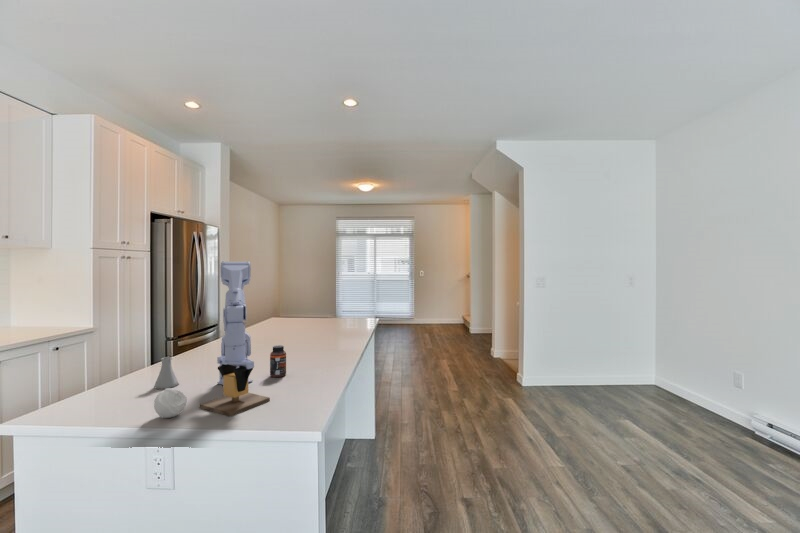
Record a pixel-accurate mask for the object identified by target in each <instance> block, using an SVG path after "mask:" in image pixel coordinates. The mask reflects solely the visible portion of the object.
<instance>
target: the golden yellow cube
mask: <svg viewBox="0 0 800 533" xmlns="http://www.w3.org/2000/svg"><path fill="white" fill-rule="evenodd" d="M222 389H223V390H222V391H223V396H229V397H233V398H235V397H238V396H241V395H244V394H247V393H249V383H248V380H247V384H246V388H245V390H244V391H241V392H238V390H237V381H236V377H235V374H234V372H233V373H230V374H226V375H223V386H222Z"/></svg>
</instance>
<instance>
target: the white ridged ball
mask: <svg viewBox="0 0 800 533" xmlns="http://www.w3.org/2000/svg"><path fill="white" fill-rule="evenodd" d="M153 401H154V402H153V408H154V410H155V412H156V414H157V415H158V416H159V417H161V418H166V419H167V418H174V417H177V416H178V415H179V414H181V413H182V412H183V411H184V410H185V408H186V406H187V404H188V398H187V396H186V395H185V394H184V393H183V392H182V391H180V390H178V389H175V388H173V387H171V388H166V389H163V390H161V391H160V392H159V393H158V394H157V395H156V396H155V398H154V400H153Z"/></svg>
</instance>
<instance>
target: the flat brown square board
mask: <svg viewBox="0 0 800 533" xmlns="http://www.w3.org/2000/svg"><path fill="white" fill-rule="evenodd" d="M270 400H271V399H270V397H268V396H264V395H259V394H257V393H251V392H248V393H247V394H244V395H241V396H238V397H235V398H233V397H229V396H225V395H223V396H220V397H217V398H214V399H211V400H208V401H205V402H202V403H200V404H199V408H200V409H203V410H206V411H209V412H213V413H217V414H221V415H224V416H228V417H232V416H236V415H237V414H240V413H242V412H243V413H244V412H245V411H248V410H250V409H253V408H255V407H257V406H260V405H263V404H265V403H268V402H270Z"/></svg>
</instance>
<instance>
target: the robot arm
mask: <svg viewBox="0 0 800 533" xmlns="http://www.w3.org/2000/svg"><path fill="white" fill-rule="evenodd" d="M251 267H252V266H251V262H250V261H249V260H247V261H221V262H220V267H219V268H220V278H221V279H220V280H221V282H222V285H224V286H226V287H227V288H228V290H227V291H226V292H225V303H224V306H225V307H224V308H223V310H222V321H223V322H222V323H223V329H224V334H223V336H222V337H221V344H220V356H218V357H217V362H216V363H217V364H219V366H217V370H218V372H219V381H218V382H217V383H216V384H218V385H221V386H222V385H223V375H226V374H230V373H233V372H234V374H235V377H236V381H237V390H238V392H241V391H244V390H245V388H246V384H247V380H248V384H249V383H251V382H253V381H254V380H253V379H249V377H250V375H251V373H252V371H253V369H254V368H255V361H254V360H252V359H249V358H248V357H250V356H251V355H252V341H251V336H250V334H249V333H248V332H246V324H247V315H248V312H247V311H248V310H247V305H246V295H245V294H246V293H245V291H244V288H245V286H247V285H249V284H250V282H251V277H252V276H251V271H252V268H251Z"/></svg>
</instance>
